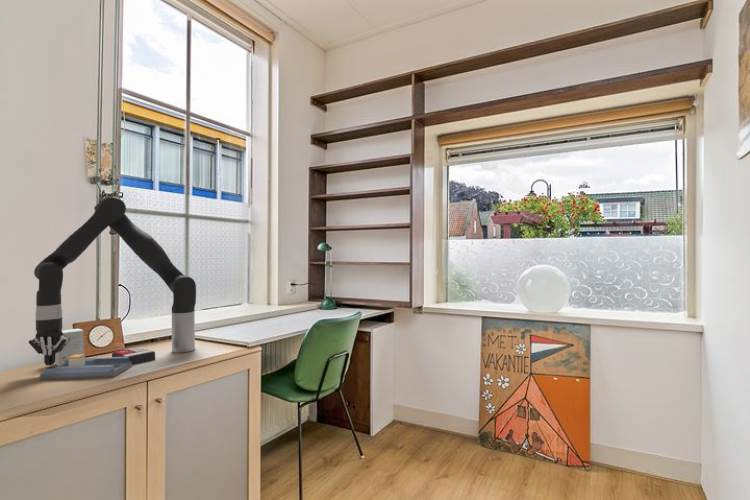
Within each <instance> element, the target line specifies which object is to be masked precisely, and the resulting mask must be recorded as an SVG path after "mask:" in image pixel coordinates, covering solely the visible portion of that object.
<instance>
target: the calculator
mask: <svg viewBox="0 0 750 500" xmlns="http://www.w3.org/2000/svg"><path fill="white" fill-rule="evenodd" d="M111 357H129V361H132V366H133V365H137V364H138V365H139V364H143V363H147V361H148V362H151V361H152V360H153V361H155V360H156V352H155V351H154V350H152V349H148V348H145V347H141V346H138V347H132V348H128V349H121V350H115V351H113V352H112V353H111Z"/></svg>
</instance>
